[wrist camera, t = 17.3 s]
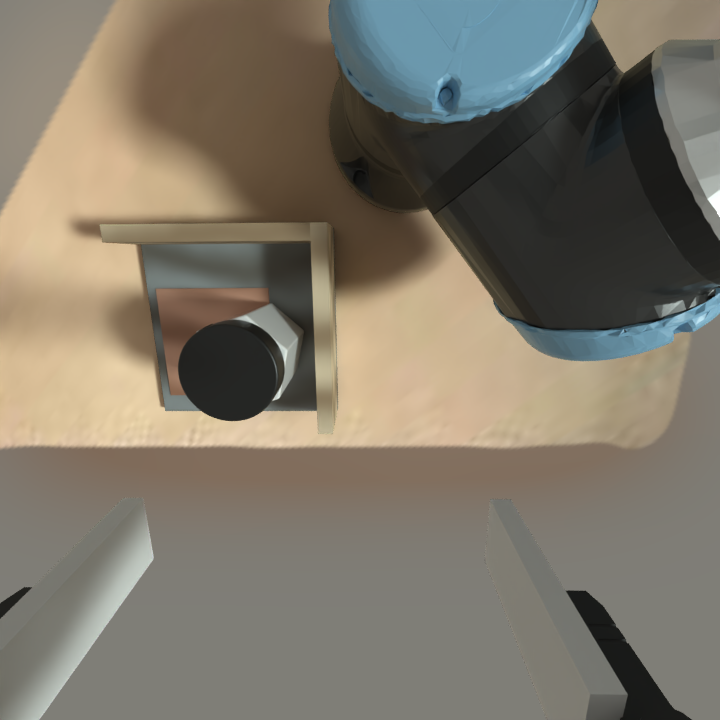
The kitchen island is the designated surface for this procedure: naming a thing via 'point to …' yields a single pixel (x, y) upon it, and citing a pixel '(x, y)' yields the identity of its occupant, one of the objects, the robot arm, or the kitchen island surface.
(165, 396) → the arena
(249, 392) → the jar
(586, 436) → the kitchen island surface
